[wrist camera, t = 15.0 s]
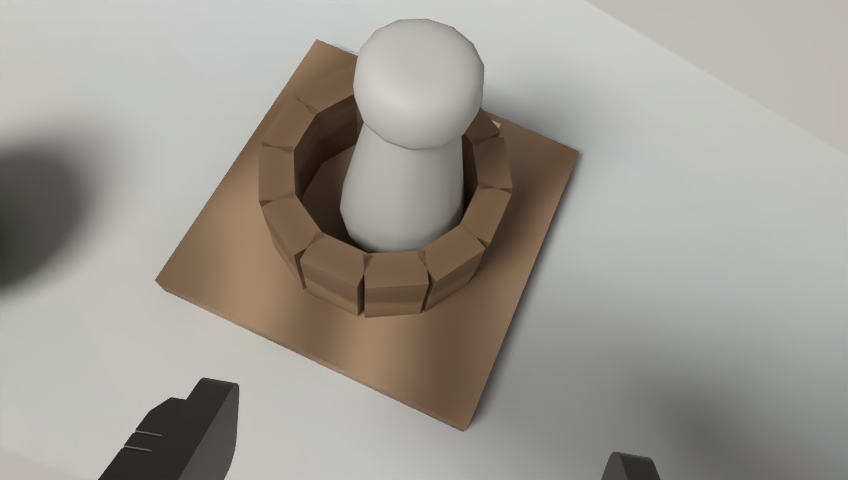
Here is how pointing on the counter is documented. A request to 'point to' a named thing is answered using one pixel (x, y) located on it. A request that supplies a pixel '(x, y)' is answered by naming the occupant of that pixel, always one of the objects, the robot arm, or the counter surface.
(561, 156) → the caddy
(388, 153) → the salt shaker
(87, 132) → the counter surface
